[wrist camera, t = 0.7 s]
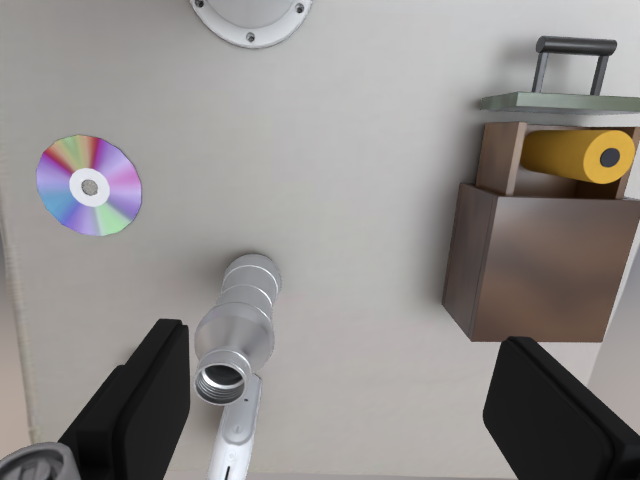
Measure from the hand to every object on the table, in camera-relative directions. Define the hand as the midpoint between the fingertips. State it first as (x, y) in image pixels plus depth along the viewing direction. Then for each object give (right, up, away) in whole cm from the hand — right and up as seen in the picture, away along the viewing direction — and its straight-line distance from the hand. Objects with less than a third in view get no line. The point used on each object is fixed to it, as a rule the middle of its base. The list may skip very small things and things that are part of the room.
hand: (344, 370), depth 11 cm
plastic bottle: (-9, 0, +34) cm, 35 cm away
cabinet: (+22, +3, +34) cm, 41 cm away
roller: (+23, +14, +29) cm, 39 cm away
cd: (-26, +10, +29) cm, 41 cm away
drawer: (+23, +14, +30) cm, 40 cm away
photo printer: (-11, -18, +39) cm, 45 cm away
